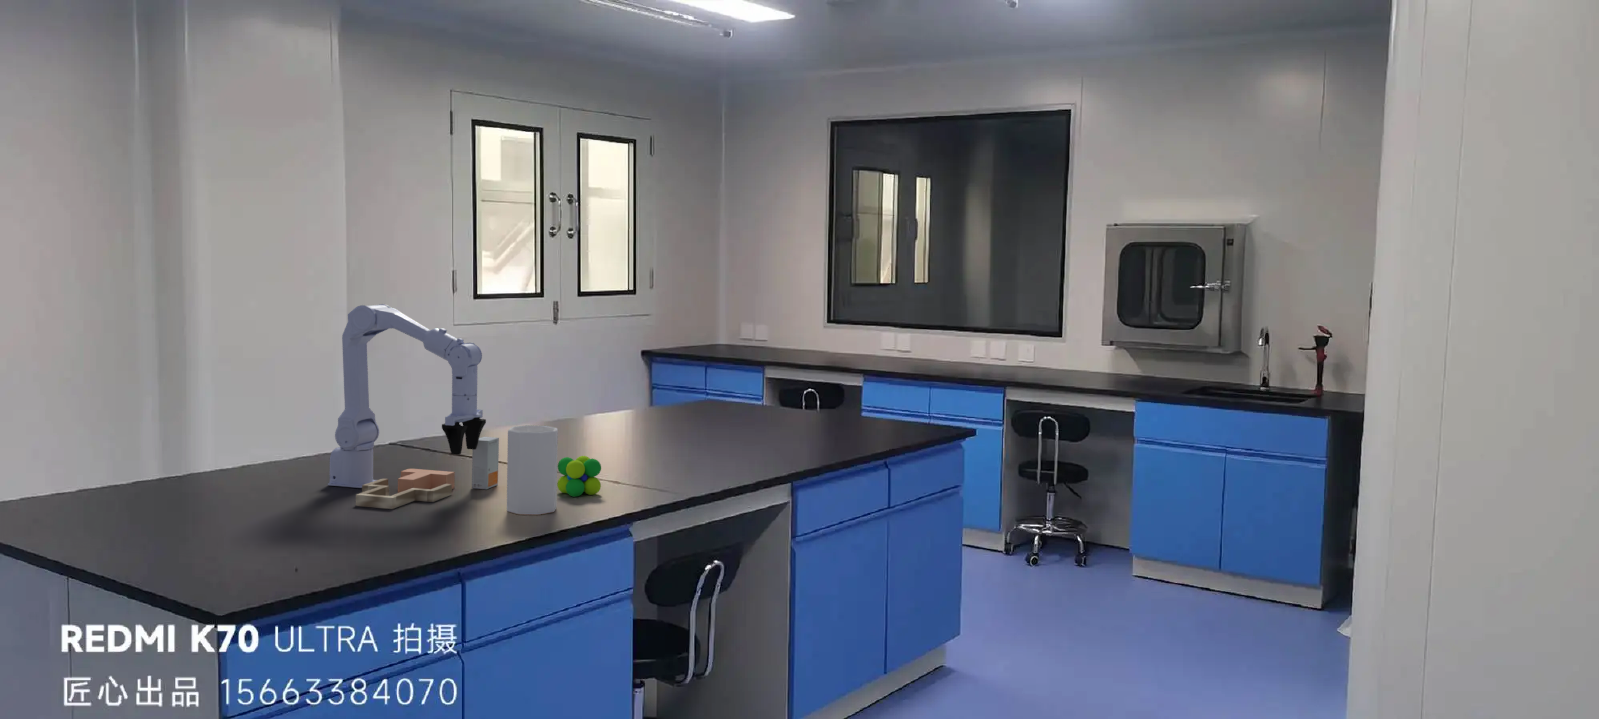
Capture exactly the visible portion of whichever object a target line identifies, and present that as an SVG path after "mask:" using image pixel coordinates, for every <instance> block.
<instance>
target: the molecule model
mask: <svg viewBox="0 0 1599 719" xmlns="http://www.w3.org/2000/svg"><path fill="white" fill-rule="evenodd" d="M557 471H558V472H559V474H561V475H562V476H560V477H559V479H557V490H558V491H560V492H561V493H563V494H568V495H569V496H571V497H574V498H577V497H580V496H581V495H582V494H583V493H585V494H587V495H589V496H593V495H596V494H598V493H599V492H600V490H601V487H602V484H601V482H600V480H599V478H597V476H598V475H599V474H600V473H601V471H602V464H601V463H600V461H599V460H598V459H595V458H591V457H589V456H586V455H580V456H578V457H577V458H576V459H574V458H572V457H570V456H566V457H565V456H564V457H562V458H561V459H559V461H558V462H557Z"/></svg>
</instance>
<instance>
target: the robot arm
mask: <svg viewBox="0 0 1599 719" xmlns="http://www.w3.org/2000/svg"><path fill="white" fill-rule="evenodd" d="M389 329H395V330H397V331H399V332H401V333H403V334H405V335H407V336H410V337H412V338H414V339H416V340H418V341H420V342H422V344H423V347H424V349H425V350H427V351H428V352H430V353H432V354H434V355H435V356H437V357H440V358H442V359H443V360H445V361H447V363H448V364H449V366H450V367H451V374H452V375H451V412H450V414H448V415H447V416H445V417H444V418H445V419H444V423H442V424H441V429H442V431H443V433H444V434H445V437H446V439H447V442H448V445H449V450H450V453H451V455H457V456H459V455H460V456H461V455H462V450H463V443H464V442H463V441H464V437H465V445H466V449H467V450H472V449H474V450H475V449H476V448H477V444H478V440H479V438H481V437H480V436H481V433H482V431H483V428H484V426H485V425H486V422H487V419H484V418H483V414H484V413H483V412H484V409H479V408H478V365H479V364H481V362H482V359H483V353H482V350H481V348H480V347H479V346H478V345H477V344H476V343H474V342H464V339H463V338H461V337H458V338H457V337H456V336H454V335H452V334H450V333H448V332H447V331H448V330H447V329H446V328H443V327H440V328H439V327H437V328H436V327H435V328H432V329H429V328H428V327H427V326H424V325H422V324H421V323H420V322H417V321H416V320H414V319H413V318H411V317H410V316H408V315H407V314H405V313H403V312H401V311H400V310H399V309H397V308H394V307H391V306H390V305H388V304H385V303H379V304H373V305H372V304H371V305H369V304H368V305H365V304H364V305H363V304H362V305H358V306H356V307H355V308H353V309H352V310H351V311H350V312H348V313H347V323H346V326H345V328H344V331H343V333H342V336H341V340H342V346H341V347H342V365H343V366H342V367H343V368H342V369H343V395H344V396H343V397H344V409H343V412H342V413H340V415H339V417H338V418H337V428H336V429H335V432H334V438H335V442H336V443H337V445H338V446H339V447H338V446H337V447H335V448H334V449H333V450H332V451H331V453H330V457H329V483H327V486H331V487H332V486H335V487H343V488H355V489H356V488H357V489H362V485H364V484H367V483H370V482H373V481H376V480H377V479H374V446H375V442H376V441H377V440H378V438H379V436H380V428H379V425H378V423H377V422H376V421H377V420H376V414H375V412H373V410H371V408H370V399H369V398H370V397H369V394H370V393H369V391H370V390H369V371H368V370H369V369H368V366H369V365H368V364H369V363H368V343H369V342H370V341H371V340H372V339H373V338H374V337H376V336H377V335H378V334H380V333H383V332H385V331H387V330H389Z"/></svg>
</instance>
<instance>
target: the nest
mask: <svg viewBox="0 0 1599 719" xmlns="http://www.w3.org/2000/svg"><path fill="white" fill-rule="evenodd" d="M375 480H376V481H373V482H370V483H367V484H364V485H362V488H361V492H360V493H356V494H355V507H365V508H377V509H387V510H388V509H389V510H394V509H396V508H398V507H401V506H404V505H406V504H410V503H412V502H415V501H419V502H431V503H434V502H436V501H439V500H441V499H444V498H447V497H450V496H452V495H453V492H452V490H453V489H452V484H444V485H441V486H438V487H436V488H433V489H419V488H411V489H408V490H406V491H403V492H400V493H398V492H397V493H395V494H392V495H390V485H389V479H388V478H380V479H375Z"/></svg>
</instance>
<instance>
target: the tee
mask: <svg viewBox="0 0 1599 719" xmlns="http://www.w3.org/2000/svg"><path fill="white" fill-rule="evenodd" d="M455 475H456V472H455V471H446V470H435V469H434V470H432V469H421V468H407V469H404V470H401V471H400V477H399V478H397V493H400V492H403V491H406V490H408V489H411V488H419V489H433V488H436V487H438V486H441V485H444V484H452V490H453V489H455V486H456V484H455V480H456V476H455Z"/></svg>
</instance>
